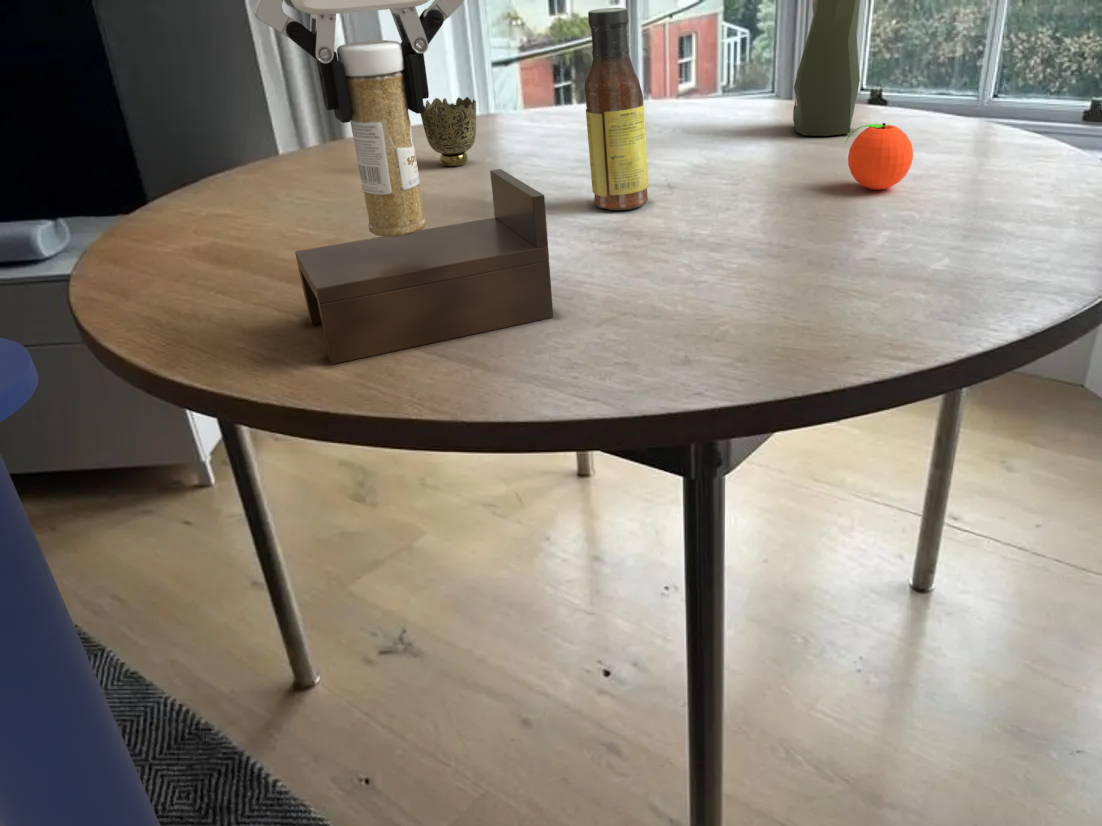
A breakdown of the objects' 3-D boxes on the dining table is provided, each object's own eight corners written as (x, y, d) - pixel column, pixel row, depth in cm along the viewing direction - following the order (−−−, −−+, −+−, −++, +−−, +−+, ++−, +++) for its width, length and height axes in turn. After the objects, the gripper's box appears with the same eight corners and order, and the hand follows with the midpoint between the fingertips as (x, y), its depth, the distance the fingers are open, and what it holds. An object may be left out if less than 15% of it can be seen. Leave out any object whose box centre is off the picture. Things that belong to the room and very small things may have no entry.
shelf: (332, 364, 70) (305, 234, 65) (309, 320, 78) (283, 201, 73) (553, 317, 76) (544, 195, 71) (511, 281, 84) (500, 168, 79)
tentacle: (846, 122, 136) (867, -118, 121) (864, 140, 125) (889, -120, 110) (783, 124, 136) (796, -114, 121) (796, 143, 126) (812, -116, 111)
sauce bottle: (657, 199, 105) (654, 5, 95) (633, 214, 100) (628, 12, 90) (606, 194, 108) (598, 5, 98) (580, 209, 103) (569, 12, 93)
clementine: (825, 189, 105) (830, 124, 102) (857, 176, 110) (863, 113, 106) (889, 200, 100) (897, 132, 97) (920, 186, 105) (928, 120, 101)
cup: (487, 157, 127) (481, 95, 123) (476, 170, 121) (469, 105, 117) (434, 158, 128) (426, 97, 124) (420, 171, 121) (411, 107, 117)
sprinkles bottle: (437, 230, 72) (411, 41, 65) (382, 242, 70) (349, 48, 63) (412, 217, 75) (385, 36, 68) (359, 229, 73) (326, 43, 66)
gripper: (444, -182, 65) (473, 94, 74) (187, -178, 59) (254, 121, 68) (478, -193, 59) (505, 109, 68) (195, -190, 53) (267, 139, 62)
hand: (379, 112), depth 68 cm, fingers closed on sprinkles bottle, 4 cm apart
